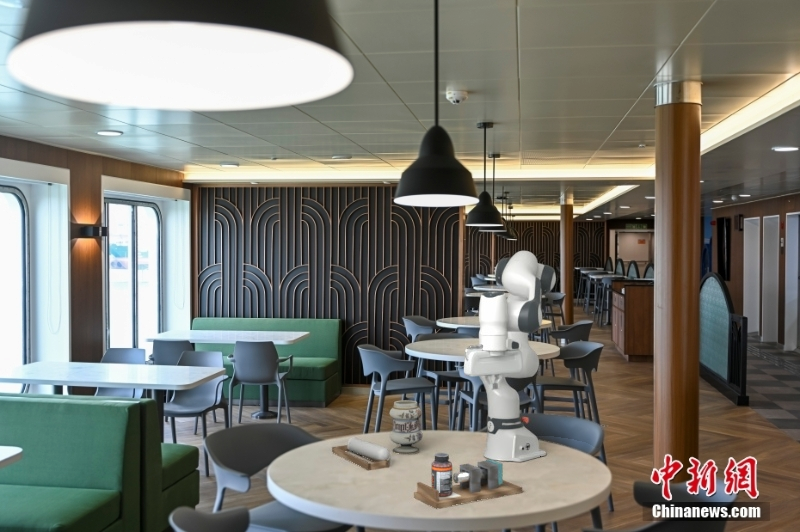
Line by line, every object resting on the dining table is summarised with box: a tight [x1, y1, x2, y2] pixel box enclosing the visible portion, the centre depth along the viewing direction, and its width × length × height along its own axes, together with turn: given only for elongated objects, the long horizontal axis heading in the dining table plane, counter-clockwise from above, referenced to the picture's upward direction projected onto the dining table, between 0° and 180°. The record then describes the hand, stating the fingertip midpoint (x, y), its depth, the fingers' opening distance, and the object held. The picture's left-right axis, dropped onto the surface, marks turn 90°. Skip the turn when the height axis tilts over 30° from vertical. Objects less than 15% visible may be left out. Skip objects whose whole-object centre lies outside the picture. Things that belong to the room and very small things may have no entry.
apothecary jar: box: [389, 399, 423, 455], centre depth 267 cm, size 12×12×18 cm
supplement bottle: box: [430, 452, 453, 497], centre depth 209 cm, size 6×6×11 cm
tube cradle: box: [331, 444, 390, 471], centre depth 256 cm, size 8×28×2 cm, turn 30°
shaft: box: [452, 458, 504, 485], centre depth 215 cm, size 15×6×6 cm, turn 120°
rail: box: [413, 460, 523, 510], centre depth 214 cm, size 30×12×8 cm, turn 120°
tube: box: [346, 436, 391, 461], centre depth 257 cm, size 5×5×25 cm
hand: (493, 389), depth 225 cm, fingers closed
